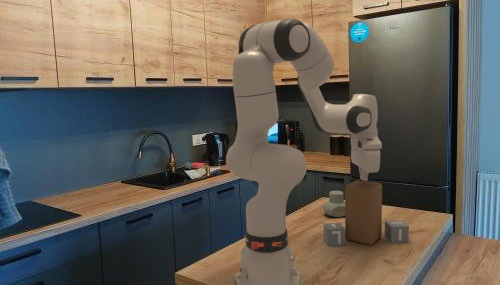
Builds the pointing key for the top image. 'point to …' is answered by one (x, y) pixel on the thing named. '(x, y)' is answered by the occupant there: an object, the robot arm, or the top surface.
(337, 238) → the cube seven
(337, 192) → the air freshener
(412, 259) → the top surface
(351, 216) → the wooden block
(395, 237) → the cube one
